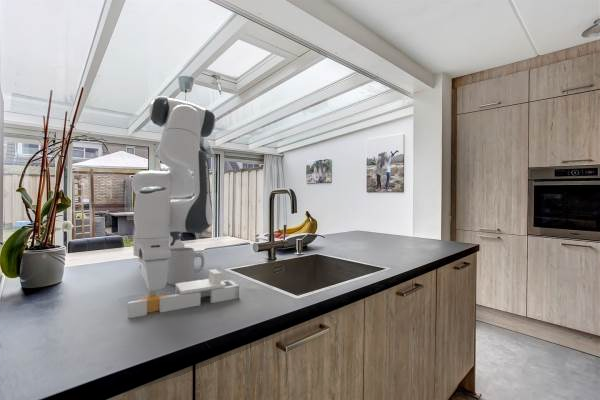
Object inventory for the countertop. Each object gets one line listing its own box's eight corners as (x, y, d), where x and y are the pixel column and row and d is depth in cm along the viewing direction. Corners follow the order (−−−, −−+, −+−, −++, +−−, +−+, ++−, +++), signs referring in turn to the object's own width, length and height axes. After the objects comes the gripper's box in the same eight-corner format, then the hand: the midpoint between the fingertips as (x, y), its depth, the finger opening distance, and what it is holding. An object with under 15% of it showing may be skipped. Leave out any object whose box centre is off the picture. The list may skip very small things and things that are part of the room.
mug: (169, 286, 98) (169, 252, 98) (165, 280, 106) (165, 248, 105) (207, 281, 104) (207, 249, 104) (201, 275, 112) (201, 245, 111)
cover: (175, 286, 86) (175, 272, 86) (217, 280, 92) (217, 267, 92) (181, 294, 79) (181, 279, 79) (226, 286, 86) (226, 273, 86)
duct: (126, 308, 79) (126, 294, 79) (230, 291, 94) (230, 279, 94) (128, 318, 73) (128, 303, 73) (239, 298, 88) (239, 285, 88)
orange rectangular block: (133, 310, 78) (133, 299, 78) (171, 304, 83) (171, 293, 83) (134, 314, 75) (134, 302, 75) (173, 307, 80) (173, 296, 80)
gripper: (135, 242, 88) (135, 290, 89) (143, 255, 71) (142, 314, 71) (159, 241, 92) (159, 286, 92) (172, 252, 74) (171, 308, 75)
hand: (152, 298), depth 82 cm, fingers closed
